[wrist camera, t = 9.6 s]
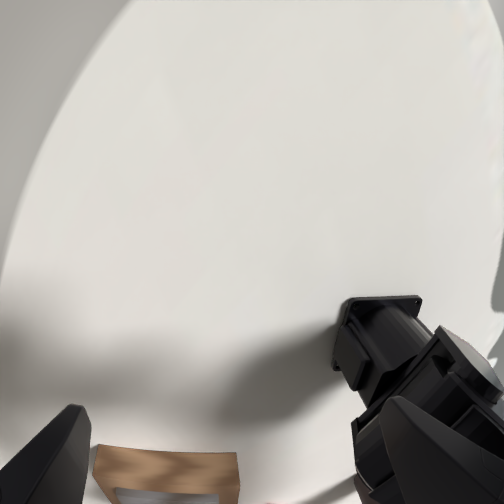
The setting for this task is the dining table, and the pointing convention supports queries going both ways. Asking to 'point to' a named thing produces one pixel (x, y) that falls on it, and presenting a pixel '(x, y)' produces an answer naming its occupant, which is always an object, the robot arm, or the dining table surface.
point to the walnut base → (166, 476)
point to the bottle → (363, 492)
